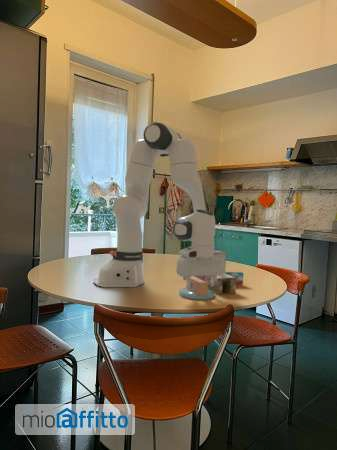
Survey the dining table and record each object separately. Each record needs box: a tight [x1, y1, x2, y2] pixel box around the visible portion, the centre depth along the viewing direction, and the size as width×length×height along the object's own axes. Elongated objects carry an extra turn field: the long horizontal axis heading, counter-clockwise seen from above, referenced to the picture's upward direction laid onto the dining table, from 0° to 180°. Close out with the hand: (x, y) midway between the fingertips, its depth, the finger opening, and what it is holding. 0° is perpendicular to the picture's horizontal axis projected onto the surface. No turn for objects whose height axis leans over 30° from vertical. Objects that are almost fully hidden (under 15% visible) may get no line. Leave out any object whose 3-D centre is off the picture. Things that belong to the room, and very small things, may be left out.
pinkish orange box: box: [185, 276, 208, 296], centre depth 127 cm, size 3×12×5 cm, turn 23°
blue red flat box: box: [225, 271, 244, 287], centre depth 146 cm, size 12×2×6 cm, turn 98°
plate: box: [178, 287, 215, 301], centre depth 127 cm, size 14×14×1 cm
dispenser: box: [204, 273, 237, 295], centre depth 135 cm, size 9×11×7 cm
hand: (200, 286), depth 124 cm, fingers open, 8 cm apart
